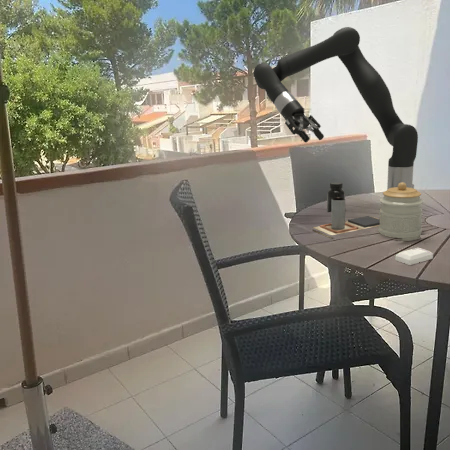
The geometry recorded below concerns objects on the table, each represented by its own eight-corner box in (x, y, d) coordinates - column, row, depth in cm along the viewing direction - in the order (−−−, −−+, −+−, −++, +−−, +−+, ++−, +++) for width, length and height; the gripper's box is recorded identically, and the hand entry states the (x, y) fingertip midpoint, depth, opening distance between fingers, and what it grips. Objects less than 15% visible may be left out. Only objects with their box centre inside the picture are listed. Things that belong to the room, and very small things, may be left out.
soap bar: (395, 261, 121) (395, 252, 120) (417, 255, 125) (418, 246, 124) (409, 266, 117) (410, 257, 116) (432, 259, 121) (433, 250, 120)
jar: (417, 244, 133) (421, 187, 128) (374, 239, 140) (376, 185, 135) (424, 232, 143) (427, 179, 139) (383, 228, 150) (385, 178, 145)
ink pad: (367, 218, 159) (367, 216, 159) (385, 223, 151) (385, 221, 151) (347, 221, 156) (347, 219, 156) (364, 227, 148) (365, 225, 148)
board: (371, 219, 162) (371, 214, 161) (393, 226, 152) (393, 221, 151) (312, 230, 152) (312, 225, 152) (331, 238, 142) (331, 233, 142)
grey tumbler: (329, 226, 152) (329, 197, 149) (342, 225, 152) (342, 196, 149) (333, 230, 147) (334, 200, 145) (346, 229, 148) (347, 199, 145)
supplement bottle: (345, 214, 170) (345, 184, 167) (327, 214, 172) (327, 185, 169) (343, 210, 177) (344, 181, 174) (326, 210, 178) (327, 181, 175)
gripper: (281, 100, 151) (309, 133, 146) (306, 98, 160) (333, 130, 155) (270, 116, 156) (296, 149, 151) (295, 113, 165) (320, 145, 160)
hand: (315, 139), depth 153 cm, fingers open, 8 cm apart
